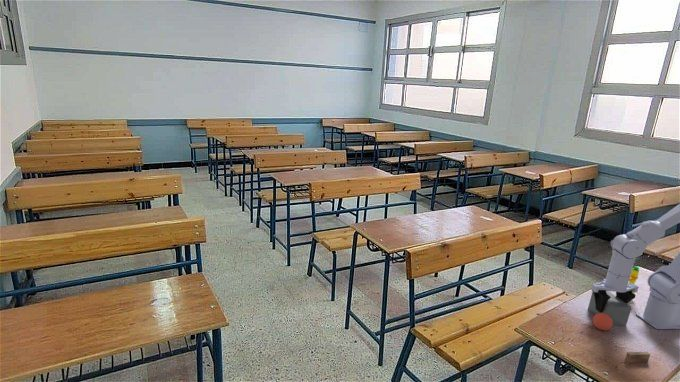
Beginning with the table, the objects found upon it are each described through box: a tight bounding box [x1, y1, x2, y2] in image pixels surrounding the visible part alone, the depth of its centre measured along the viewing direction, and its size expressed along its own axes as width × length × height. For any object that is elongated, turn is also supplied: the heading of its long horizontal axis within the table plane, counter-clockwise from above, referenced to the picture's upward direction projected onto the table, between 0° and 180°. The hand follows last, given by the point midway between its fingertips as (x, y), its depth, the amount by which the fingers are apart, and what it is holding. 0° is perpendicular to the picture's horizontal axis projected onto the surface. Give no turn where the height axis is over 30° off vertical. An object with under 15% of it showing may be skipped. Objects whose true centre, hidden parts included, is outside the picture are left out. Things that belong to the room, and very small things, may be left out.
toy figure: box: [628, 265, 640, 294], centre depth 134 cm, size 7×4×12 cm, turn 121°
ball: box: [592, 313, 614, 331], centre depth 116 cm, size 5×5×5 cm
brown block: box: [624, 351, 651, 364], centre depth 103 cm, size 6×1×2 cm, turn 96°
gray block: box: [587, 291, 632, 326], centre depth 122 cm, size 6×9×6 cm, turn 6°
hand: (608, 310), depth 123 cm, fingers closed on gray block, 6 cm apart
